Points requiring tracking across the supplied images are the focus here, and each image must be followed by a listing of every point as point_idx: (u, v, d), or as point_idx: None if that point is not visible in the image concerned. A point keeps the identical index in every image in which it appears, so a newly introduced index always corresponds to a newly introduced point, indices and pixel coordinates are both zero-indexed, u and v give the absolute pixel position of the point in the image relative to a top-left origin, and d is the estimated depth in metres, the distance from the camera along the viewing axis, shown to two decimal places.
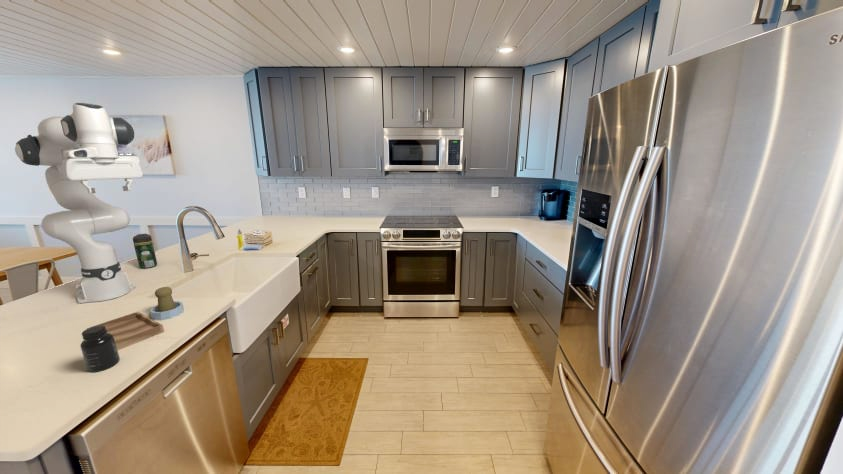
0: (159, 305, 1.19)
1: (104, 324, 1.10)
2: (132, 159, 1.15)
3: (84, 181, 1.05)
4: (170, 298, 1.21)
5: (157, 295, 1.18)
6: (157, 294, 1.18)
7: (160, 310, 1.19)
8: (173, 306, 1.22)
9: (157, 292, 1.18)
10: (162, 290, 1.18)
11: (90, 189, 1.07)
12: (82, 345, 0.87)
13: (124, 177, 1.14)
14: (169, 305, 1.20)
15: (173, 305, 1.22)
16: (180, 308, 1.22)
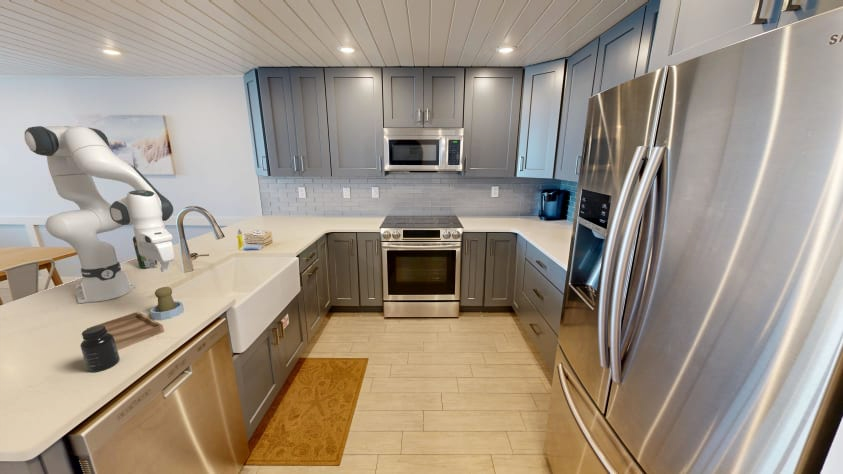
0: (159, 305, 1.19)
1: (104, 324, 1.10)
2: None
3: None
4: (170, 298, 1.21)
5: (157, 295, 1.18)
6: (157, 294, 1.18)
7: (160, 310, 1.19)
8: (173, 306, 1.22)
9: (157, 292, 1.18)
10: (162, 290, 1.18)
11: None
12: (82, 345, 0.87)
13: None
14: (169, 305, 1.20)
15: (173, 305, 1.22)
16: (180, 308, 1.22)
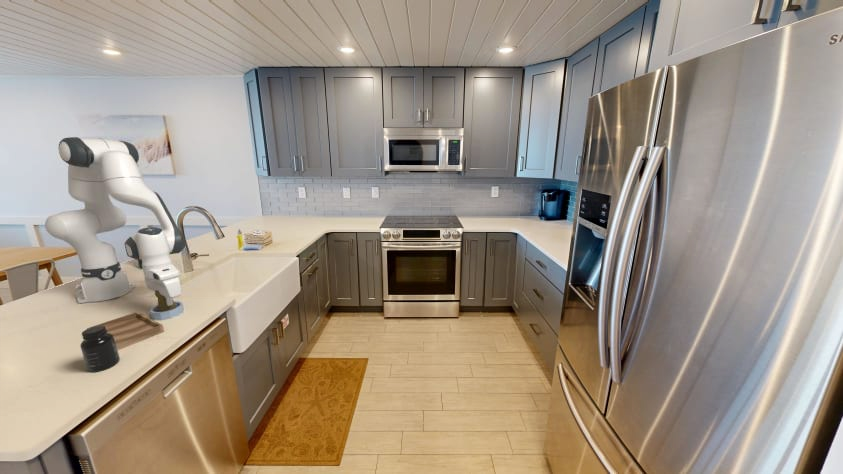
0: (159, 305, 1.19)
1: (104, 324, 1.10)
2: None
3: None
4: None
5: (157, 295, 1.18)
6: (157, 294, 1.18)
7: (160, 310, 1.19)
8: (173, 306, 1.22)
9: (157, 292, 1.18)
10: None
11: None
12: (82, 345, 0.87)
13: None
14: None
15: (173, 305, 1.22)
16: (180, 308, 1.22)
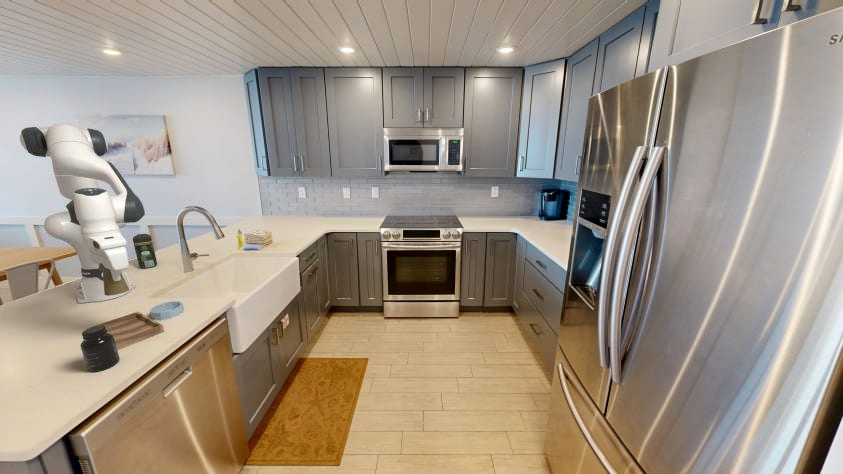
0: (104, 281, 1.01)
1: (104, 324, 1.10)
2: None
3: None
4: None
5: (101, 269, 1.00)
6: (101, 267, 1.00)
7: (106, 287, 1.01)
8: (122, 282, 1.04)
9: (101, 265, 1.00)
10: None
11: None
12: (82, 345, 0.87)
13: None
14: (117, 281, 1.03)
15: (122, 281, 1.04)
16: (180, 308, 1.22)
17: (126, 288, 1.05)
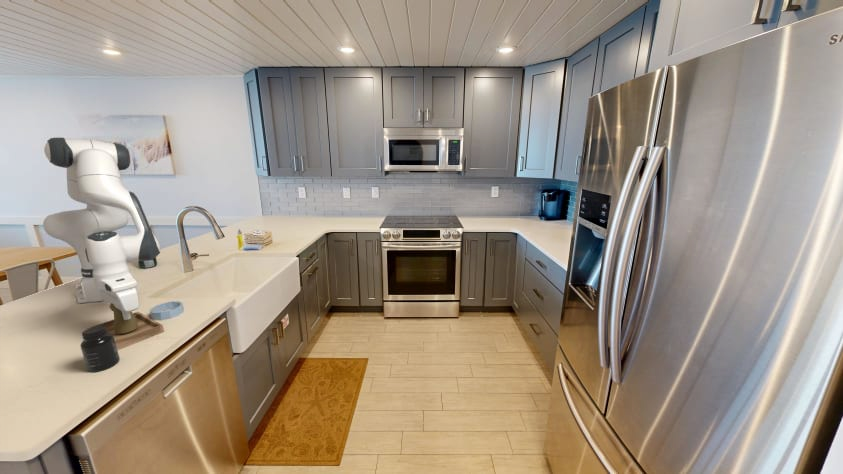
0: (115, 320, 1.05)
1: (104, 324, 1.10)
2: None
3: None
4: None
5: (112, 309, 1.04)
6: (112, 307, 1.04)
7: (116, 325, 1.05)
8: (132, 320, 1.08)
9: (112, 305, 1.04)
10: None
11: None
12: (82, 345, 0.87)
13: None
14: None
15: (132, 319, 1.08)
16: (180, 308, 1.22)
17: (136, 325, 1.09)
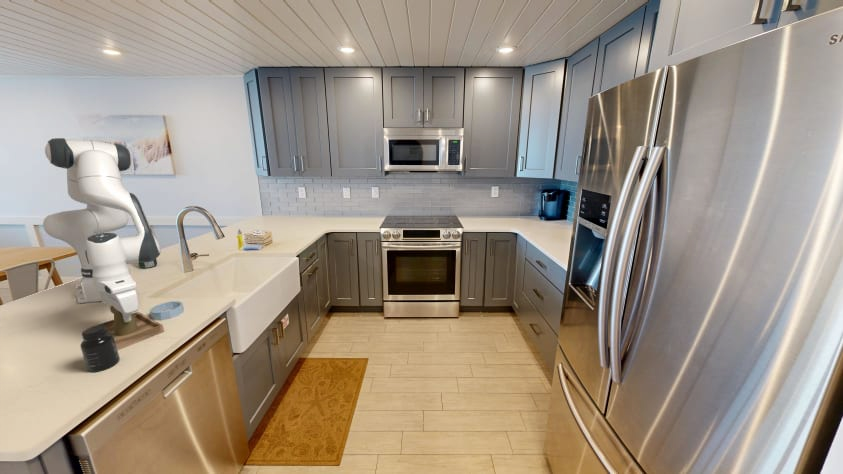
0: (115, 322, 1.05)
1: (104, 324, 1.10)
2: None
3: None
4: None
5: (112, 311, 1.04)
6: (112, 310, 1.04)
7: (116, 328, 1.05)
8: (132, 323, 1.08)
9: (112, 307, 1.04)
10: None
11: None
12: (82, 345, 0.87)
13: None
14: None
15: (132, 321, 1.08)
16: (180, 308, 1.22)
17: (136, 328, 1.09)
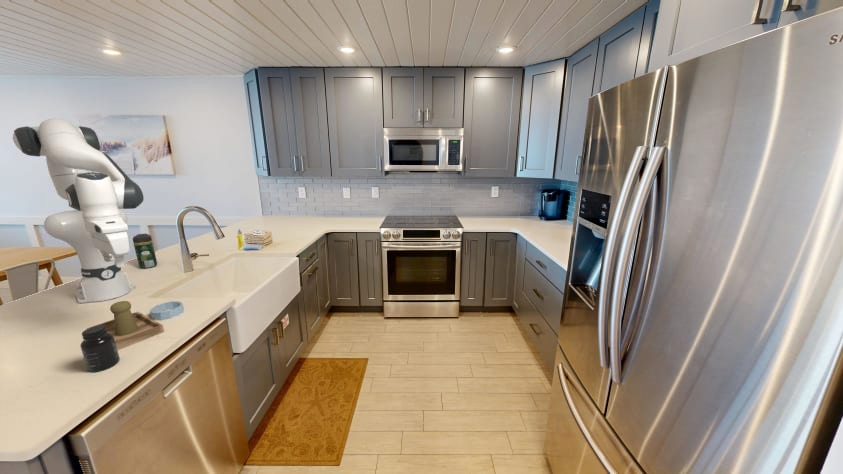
0: (115, 322, 1.05)
1: (104, 324, 1.10)
2: None
3: None
4: (128, 314, 1.07)
5: (112, 311, 1.04)
6: (112, 310, 1.04)
7: (116, 328, 1.05)
8: (132, 323, 1.08)
9: (112, 307, 1.04)
10: (118, 305, 1.04)
11: None
12: (82, 345, 0.87)
13: None
14: (127, 321, 1.06)
15: (132, 321, 1.08)
16: (180, 308, 1.22)
17: (136, 328, 1.09)
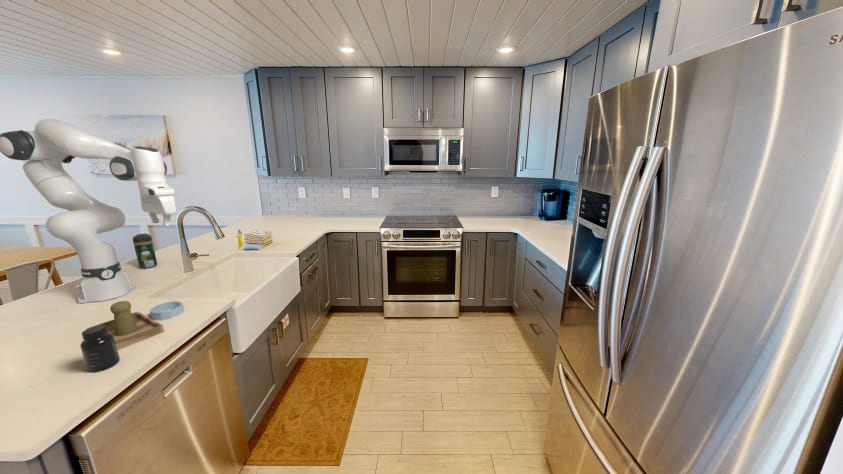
0: (115, 322, 1.05)
1: (104, 324, 1.10)
2: None
3: None
4: (128, 314, 1.07)
5: (112, 311, 1.04)
6: (112, 310, 1.04)
7: (116, 328, 1.05)
8: (132, 323, 1.08)
9: (112, 307, 1.04)
10: (118, 305, 1.04)
11: None
12: (82, 345, 0.87)
13: None
14: (127, 321, 1.06)
15: (132, 321, 1.08)
16: (180, 308, 1.22)
17: (136, 328, 1.09)
